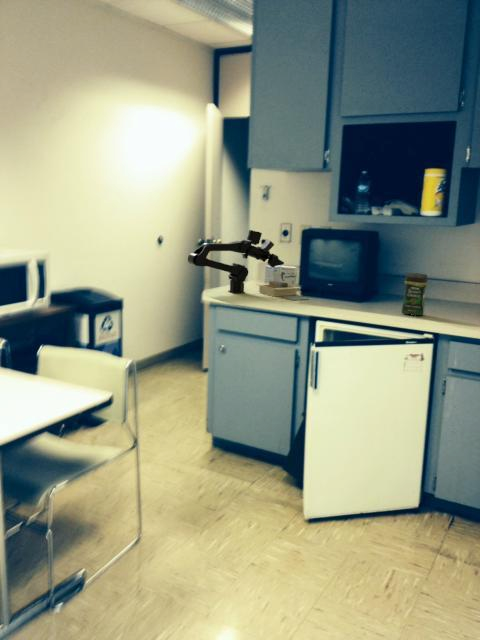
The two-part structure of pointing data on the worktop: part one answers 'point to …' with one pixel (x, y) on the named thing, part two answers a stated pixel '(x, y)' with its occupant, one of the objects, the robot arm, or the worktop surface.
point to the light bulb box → (272, 273)
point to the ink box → (288, 275)
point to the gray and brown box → (277, 284)
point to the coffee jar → (414, 294)
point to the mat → (295, 298)
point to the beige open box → (277, 290)
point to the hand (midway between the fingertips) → (279, 260)
